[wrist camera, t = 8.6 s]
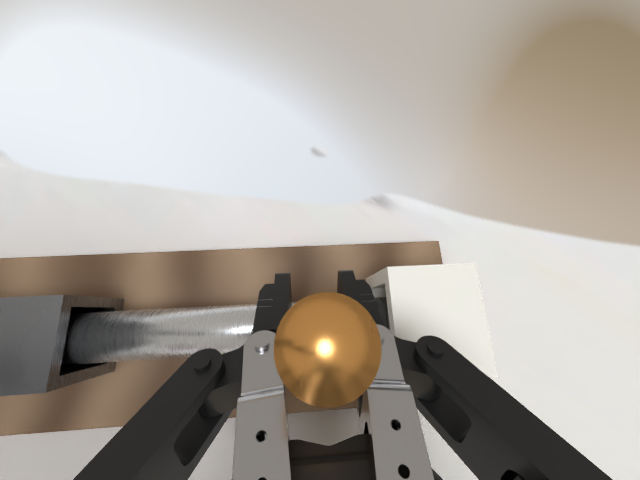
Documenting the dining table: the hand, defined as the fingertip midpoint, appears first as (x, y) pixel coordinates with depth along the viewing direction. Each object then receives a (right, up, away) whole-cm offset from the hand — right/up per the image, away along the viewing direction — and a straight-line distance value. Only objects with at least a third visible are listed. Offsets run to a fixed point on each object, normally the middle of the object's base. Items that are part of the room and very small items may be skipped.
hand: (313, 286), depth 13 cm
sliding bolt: (-4, -3, +4) cm, 7 cm away
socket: (+6, -3, +6) cm, 9 cm away
